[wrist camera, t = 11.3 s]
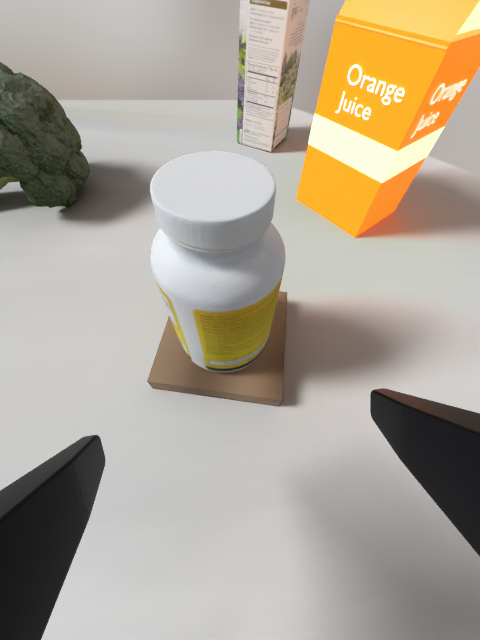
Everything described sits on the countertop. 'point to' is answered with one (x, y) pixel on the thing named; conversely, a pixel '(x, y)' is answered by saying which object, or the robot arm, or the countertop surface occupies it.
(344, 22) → the orange juice
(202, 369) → the base tile
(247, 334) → the pill bottle
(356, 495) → the countertop surface
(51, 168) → the vegetable
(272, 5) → the syrup box
